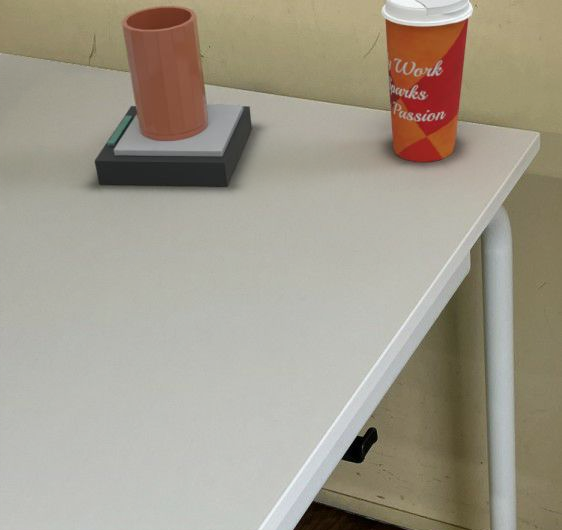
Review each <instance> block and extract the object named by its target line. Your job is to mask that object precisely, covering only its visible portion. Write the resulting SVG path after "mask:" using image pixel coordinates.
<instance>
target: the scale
mask: <svg viewBox="0 0 562 530" xmlns="http://www.w3.org/2000/svg"><path fill="white" fill-rule="evenodd" d="M207 111H208V126H207V127H206V129H205V130H204V131H202V132H201V133H199V134H197V135H195V136H192V137H189V138H186V139H181V140H174V141H159V140H153V139H149V138H147V137H145V136H143V135H142V134H141V132H140V129H139V124H138V119H137V112H136V106H135V105H131V106H130V107H129V108H128V110H127V111H126V113H125V114H124V116H123V118H122V119H121V121H120V122H119V123H118V124H117V126H116V128H115V130H114V131H113V133H112V134H111V136H110V137H109V138H108V140H107V141H106V143H105V145H104V146H103V147H102V149H101V150H100V151H99V153H98V155H97V156H96V158H95V159H94V165H95V170H96V175H97V181H98V185H107V186H108V185H113V186H116V185H117V186H120V185H121V186H168V187H169V186H171V187H173V186H175V187H176V186H177V187H179V186H181V187H228V185H229V183H230V181H231V178H232V176H233V173H234V172H235V169H236V167H237V164H238V162H239V160H240V157H241V155H242V152H243V150H244V148H245V146H246V143H247V141H248V138H249V136H250V134H251V131H252V130H253V127H252V116H251V115H252V114H251V106H248V105H244V104H207Z"/></svg>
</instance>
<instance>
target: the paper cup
mask: <svg viewBox="0 0 562 530" xmlns="http://www.w3.org/2000/svg"><path fill="white" fill-rule="evenodd" d="M473 12H474V7H473V4H472V3H471V2H470V0H385V4H384V5H383V6H382V8H381V12H380V13H381V15H382V17H383V18H384V19H385V37H386V55H387V56H386V57H387V72H388V89H389V104H390V106H389V107H390V121H391V122H390V123H391V135H392V137H391V138H392V146H393V151H394V153H395V155H396V156H398V157H399V158H401V159H404V160H406V161H411V162H416V163H417V162H418V163H428V162H429V163H430V162H436V161H441V160H443V159H446V158H447V157H449V156H451V155H452V154H453V152H454V150H455V145H456V139H457V137H456V136H457V130H458V120H459V110H460V103H461V93H462V84H463V76H464V74H463V73H464V65H465V54H466V45H467V35H468V25H469V18H470V17H471V16H472V15H473Z"/></svg>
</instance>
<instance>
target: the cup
mask: <svg viewBox="0 0 562 530" xmlns="http://www.w3.org/2000/svg"><path fill="white" fill-rule="evenodd" d="M121 27H122V31H123V32H122V33H123V38H124V45H125V46H124V47H125V51H126V57H127V63H128V70H129V76H130V82H131V88H132V93H133V99H134V106H136V112H137V119H138V124H139V129H140V132H141V134H142V135H143V136H145V137H147V138H149V139H153V140H159V141H174V140H181V139H186V138H189V137H192V136H195V135H197V134H199V133H201V132H202V131H204V130H205V129H206V127H207V126H208V111H207V105H208V104H207V103H208V102H207V96H206V95H207V94H206V87H205V79H204V71H203V60H202V52H201V51H202V50H201V44H200V36H199V28H198V19H197V14H196V13H195V11H194V10H193V9H191V8H188V7H185V6H178V5H159V6H152V7H147V8H142V9H140V10H135V11H133V12H131V13H129V14H127V15H125V17H123V19H122V20H121Z"/></svg>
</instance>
